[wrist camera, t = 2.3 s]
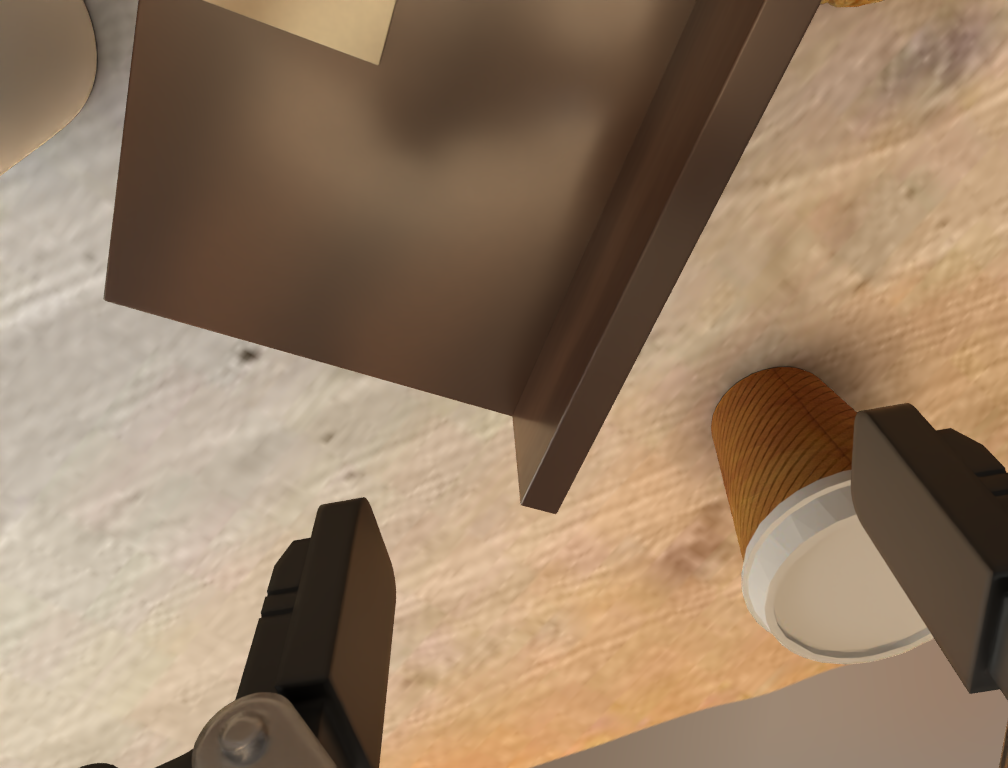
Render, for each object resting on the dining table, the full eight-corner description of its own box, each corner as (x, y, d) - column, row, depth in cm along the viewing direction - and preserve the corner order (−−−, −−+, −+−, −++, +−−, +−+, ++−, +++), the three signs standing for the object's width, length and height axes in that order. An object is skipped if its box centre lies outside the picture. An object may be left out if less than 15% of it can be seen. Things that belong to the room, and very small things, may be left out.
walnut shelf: (197, 198, 33) (30, 379, 21) (273, -250, 26) (84, -405, 13) (524, 302, 37) (556, 515, 24) (679, -69, 29) (849, -50, 16)
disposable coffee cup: (809, 504, 44) (914, 686, 34) (652, 470, 42) (712, 652, 32) (899, 362, 39) (1053, 523, 29) (726, 317, 37) (825, 471, 27)
